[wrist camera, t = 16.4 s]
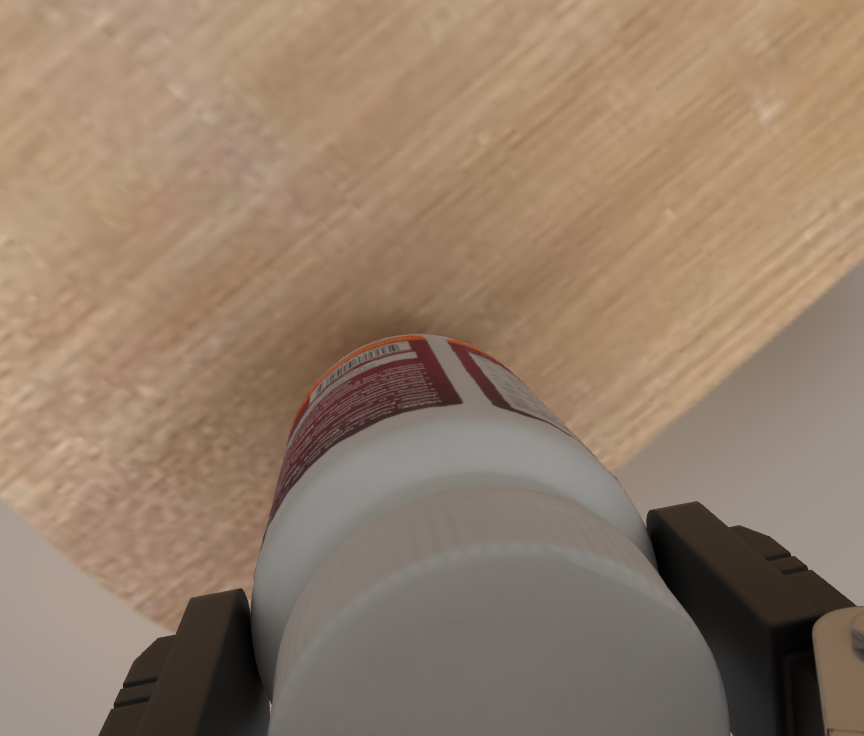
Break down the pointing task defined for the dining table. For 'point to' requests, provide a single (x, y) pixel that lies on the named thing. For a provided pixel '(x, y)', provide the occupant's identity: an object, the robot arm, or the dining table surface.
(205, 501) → the dining table surface
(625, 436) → the dining table surface
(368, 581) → the pill bottle
